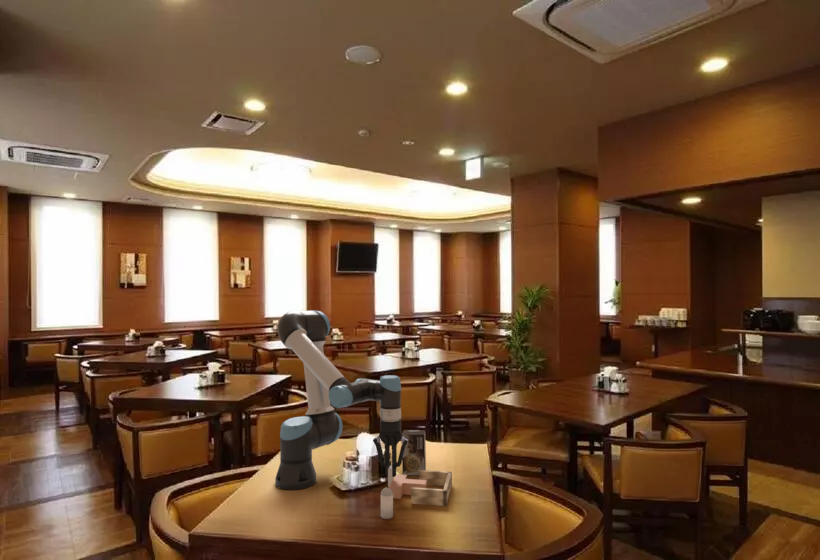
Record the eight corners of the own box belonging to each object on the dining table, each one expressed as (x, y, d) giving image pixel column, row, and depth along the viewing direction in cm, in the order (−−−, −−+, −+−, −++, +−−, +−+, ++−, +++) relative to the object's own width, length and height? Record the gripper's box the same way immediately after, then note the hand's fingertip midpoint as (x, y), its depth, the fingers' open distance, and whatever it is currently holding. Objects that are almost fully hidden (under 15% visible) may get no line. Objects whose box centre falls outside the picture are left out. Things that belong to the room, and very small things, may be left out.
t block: (389, 498, 174) (389, 486, 174) (396, 485, 186) (396, 474, 186) (423, 500, 172) (423, 488, 172) (428, 487, 184) (428, 476, 184)
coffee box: (426, 470, 202) (426, 429, 202) (425, 476, 195) (424, 434, 196) (403, 469, 203) (403, 429, 203) (401, 475, 196) (401, 433, 197)
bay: (411, 503, 170) (411, 488, 170) (419, 483, 188) (419, 469, 188) (446, 506, 168) (446, 491, 168) (451, 485, 186) (451, 471, 186)
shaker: (379, 518, 159) (379, 489, 159) (382, 512, 162) (382, 485, 163) (391, 519, 158) (391, 490, 158) (394, 513, 162) (394, 486, 162)
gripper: (370, 421, 179) (370, 488, 178) (406, 422, 176) (406, 490, 175) (375, 416, 186) (375, 480, 185) (410, 417, 184) (410, 482, 183)
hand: (390, 485), depth 180 cm, fingers closed
